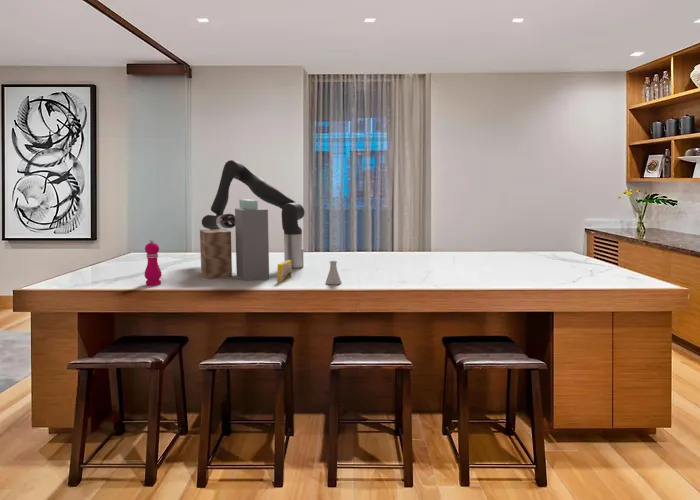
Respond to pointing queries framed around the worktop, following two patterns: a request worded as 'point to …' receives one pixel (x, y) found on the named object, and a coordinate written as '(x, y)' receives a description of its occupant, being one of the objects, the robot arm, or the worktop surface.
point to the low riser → (216, 253)
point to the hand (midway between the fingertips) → (241, 219)
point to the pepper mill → (152, 264)
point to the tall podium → (252, 244)
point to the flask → (333, 274)
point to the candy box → (284, 271)
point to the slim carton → (248, 204)
